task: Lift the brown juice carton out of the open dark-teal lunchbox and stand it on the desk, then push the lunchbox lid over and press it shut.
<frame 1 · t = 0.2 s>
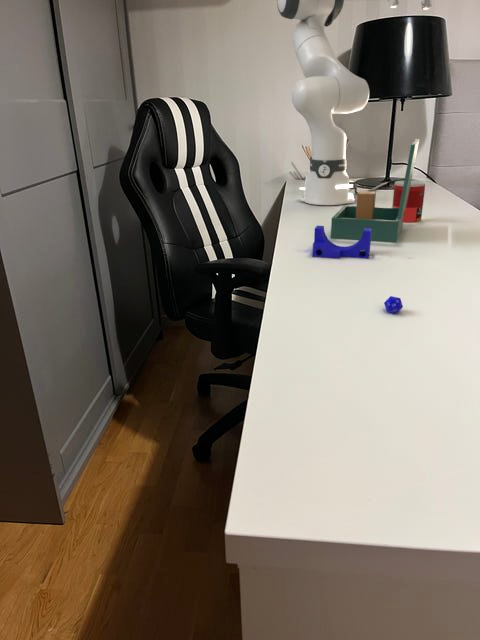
hand: (410, 7, 118), 52 cm above the table, tool tilted 20°, fingers open, 8 cm apart
lid: (408, 178, 119), point 14 cm above the table, hinge at 95.0°
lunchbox: (367, 235, 127), on the table
die: (392, 313, 81), on the table
blue curved bracket: (341, 256, 111), on the table
canned food: (405, 223, 140), on the table
carton: (363, 232, 127), point 1 cm above the table, touching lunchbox
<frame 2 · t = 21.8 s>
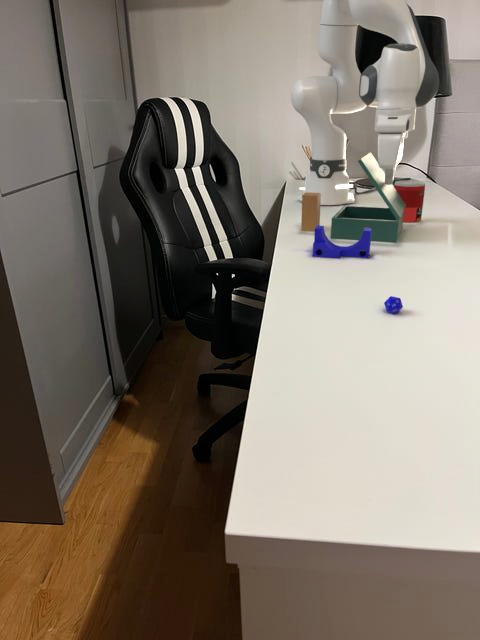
hand: (389, 183, 121), 13 cm above the table, tool pointing down, fingers closed
lid: (383, 184, 121), point 13 cm above the table, hinge at 52.6°
carton: (310, 232, 132), on the table
everything else where it was.
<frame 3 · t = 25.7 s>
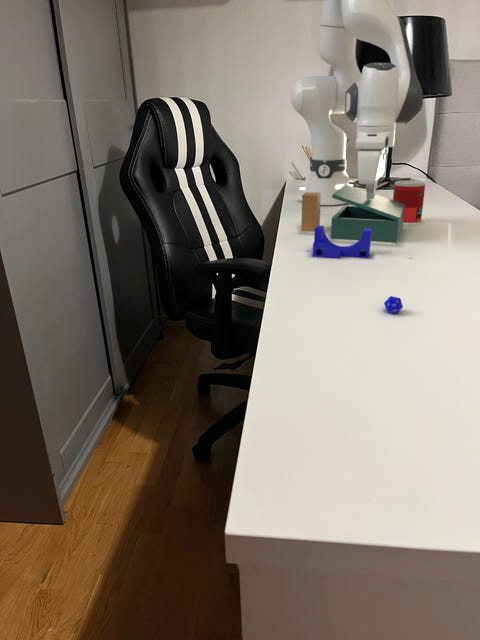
hand: (370, 198, 124), 9 cm above the table, tool pointing down, fingers closed
lid: (370, 201, 124), point 9 cm above the table, hinge at 17.0°
everything else where it was.
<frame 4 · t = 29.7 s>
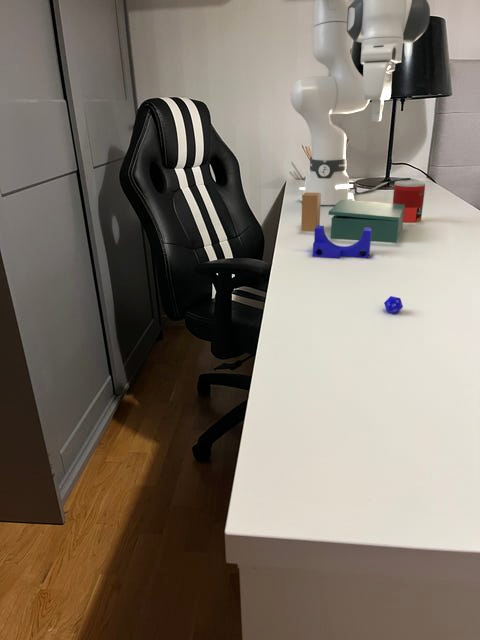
hand: (376, 121, 117), 27 cm above the table, tool pointing down, fingers closed
lid: (367, 209, 125), point 7 cm above the table, hinge at 2.6°
everything else where it was.
at the end: carton inside the target area (0.1 cm from its centre), on the table; carton tilted 0°; lid at +3° (first picture: +95°) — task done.
